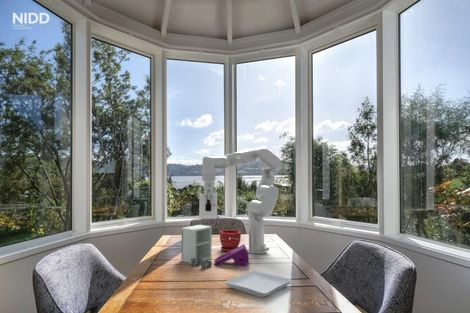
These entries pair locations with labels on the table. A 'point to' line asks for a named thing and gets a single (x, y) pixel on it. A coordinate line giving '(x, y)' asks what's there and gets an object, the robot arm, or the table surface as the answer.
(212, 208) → the door
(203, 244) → the cabinet
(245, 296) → the table surface
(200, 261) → the hinge clips
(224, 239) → the plant pot
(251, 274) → the salad plate
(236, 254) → the mounting bracket
